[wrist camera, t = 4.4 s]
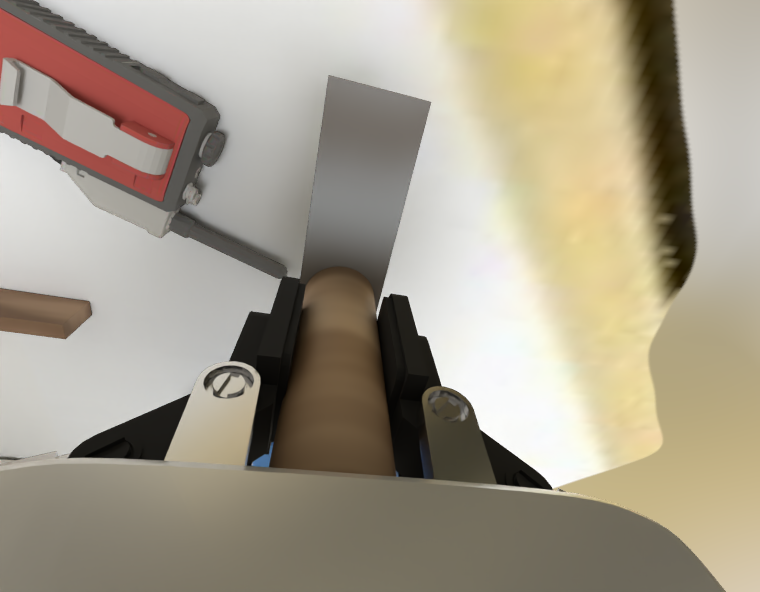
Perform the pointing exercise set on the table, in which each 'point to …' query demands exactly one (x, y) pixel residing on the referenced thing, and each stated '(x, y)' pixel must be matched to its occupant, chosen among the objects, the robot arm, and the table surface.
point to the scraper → (348, 283)
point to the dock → (41, 314)
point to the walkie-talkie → (110, 125)
